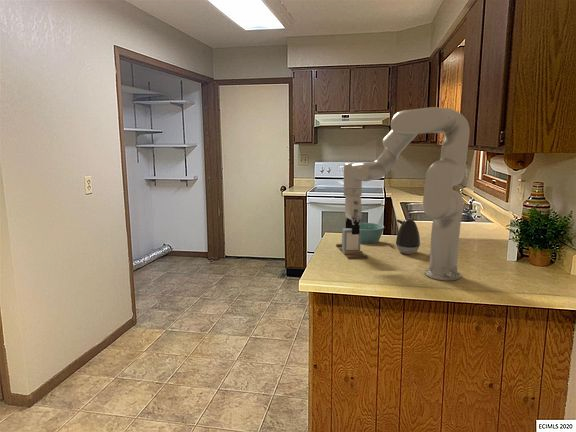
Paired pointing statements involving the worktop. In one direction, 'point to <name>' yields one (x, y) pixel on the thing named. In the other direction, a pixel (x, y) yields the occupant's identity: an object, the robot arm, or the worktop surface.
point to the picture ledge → (351, 253)
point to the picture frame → (350, 240)
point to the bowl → (370, 232)
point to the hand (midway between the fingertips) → (352, 231)
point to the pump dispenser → (408, 237)
